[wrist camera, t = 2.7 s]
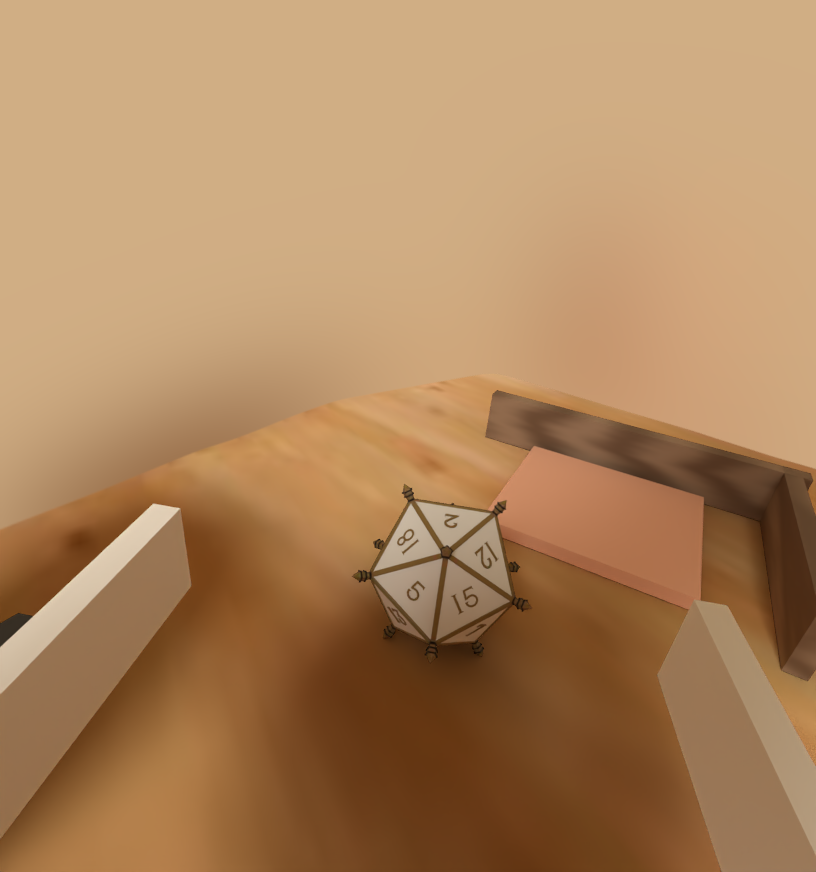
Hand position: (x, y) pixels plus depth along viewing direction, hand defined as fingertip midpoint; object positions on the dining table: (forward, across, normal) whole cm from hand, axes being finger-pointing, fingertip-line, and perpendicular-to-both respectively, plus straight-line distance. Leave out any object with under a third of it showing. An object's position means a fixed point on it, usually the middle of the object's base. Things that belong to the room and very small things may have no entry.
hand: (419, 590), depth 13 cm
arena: (+23, +12, -12) cm, 29 cm away
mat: (+23, +12, -12) cm, 29 cm away
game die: (+10, +1, -13) cm, 16 cm away
